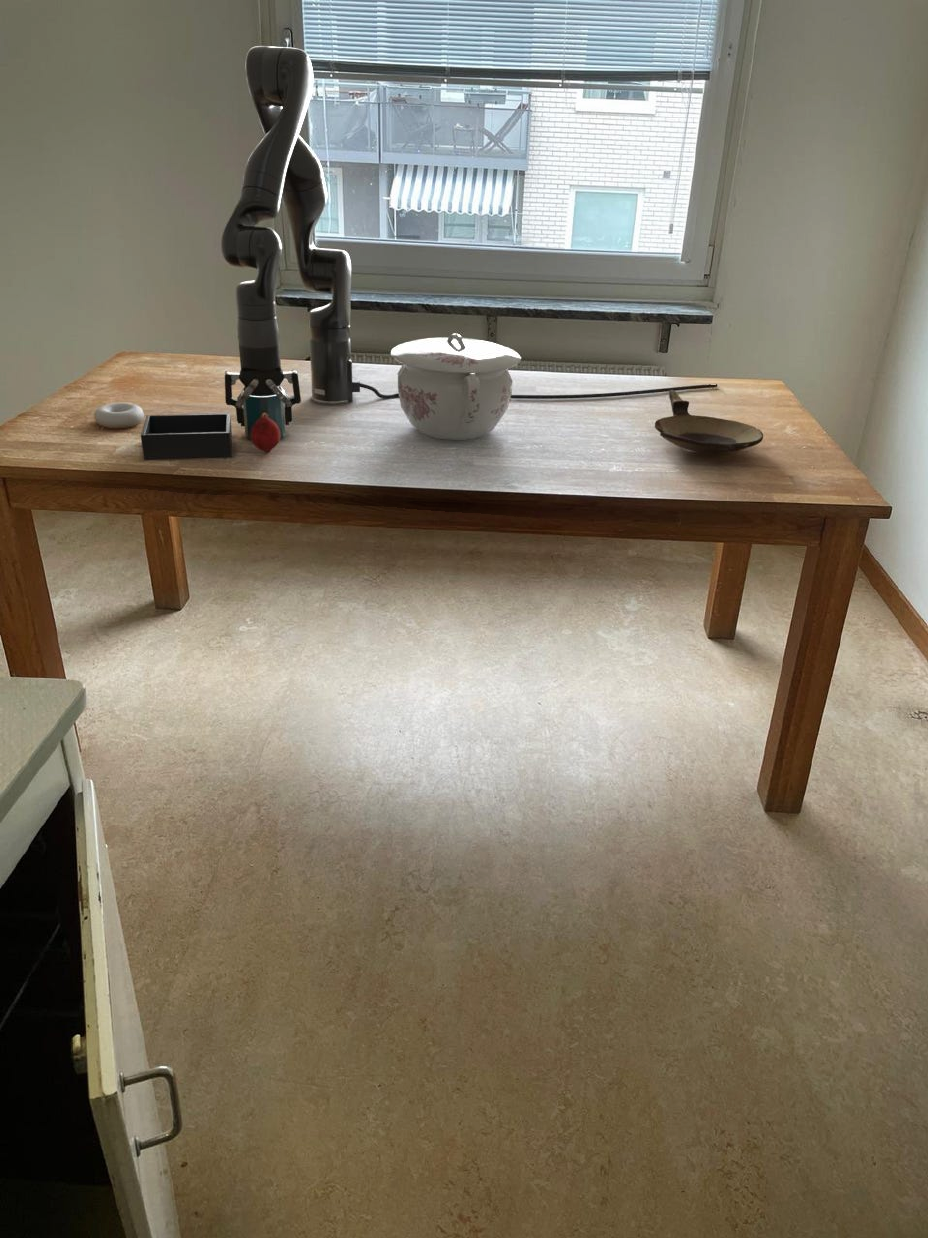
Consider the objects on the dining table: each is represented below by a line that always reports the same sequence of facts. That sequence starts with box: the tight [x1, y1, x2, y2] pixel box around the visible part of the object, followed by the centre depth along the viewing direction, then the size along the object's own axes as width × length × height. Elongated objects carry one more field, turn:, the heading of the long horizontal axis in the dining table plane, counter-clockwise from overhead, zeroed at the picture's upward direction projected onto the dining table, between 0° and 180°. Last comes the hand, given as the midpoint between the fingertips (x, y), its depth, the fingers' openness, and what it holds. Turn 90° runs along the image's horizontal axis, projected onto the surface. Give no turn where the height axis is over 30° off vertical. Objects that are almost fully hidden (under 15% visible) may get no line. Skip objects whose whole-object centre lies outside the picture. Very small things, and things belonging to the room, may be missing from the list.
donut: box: [93, 402, 145, 429], centre depth 189 cm, size 10×3×10 cm
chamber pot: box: [390, 332, 522, 441], centre depth 190 cm, size 28×28×21 cm
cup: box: [243, 393, 286, 442], centre depth 185 cm, size 8×8×10 cm
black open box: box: [140, 413, 233, 461], centre depth 178 cm, size 16×12×5 cm
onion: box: [250, 413, 281, 454], centre depth 176 cm, size 6×6×8 cm
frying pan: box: [654, 390, 764, 454], centre depth 192 cm, size 22×30×8 cm
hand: (265, 424), depth 176 cm, fingers open, 8 cm apart
